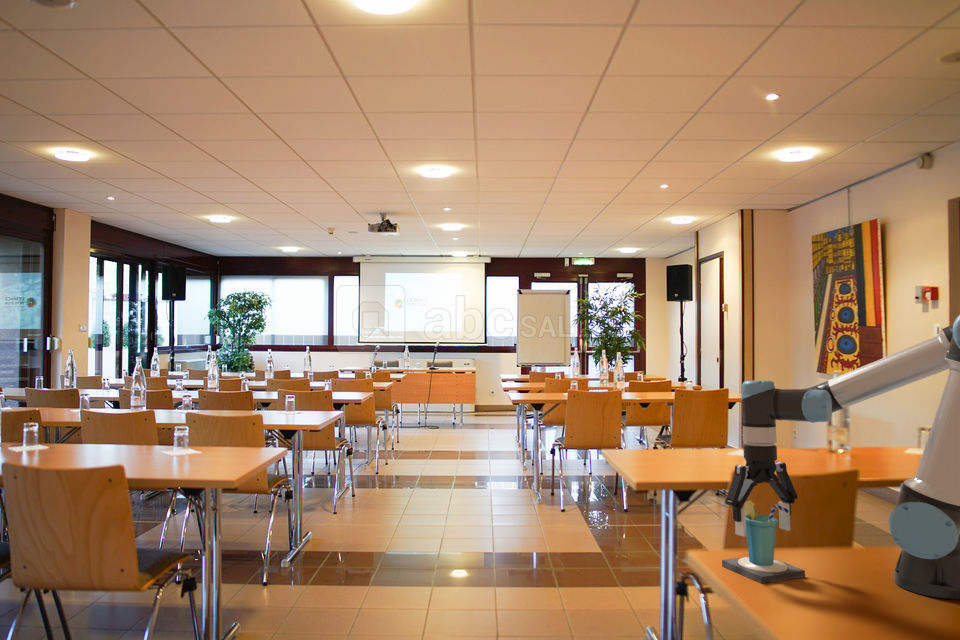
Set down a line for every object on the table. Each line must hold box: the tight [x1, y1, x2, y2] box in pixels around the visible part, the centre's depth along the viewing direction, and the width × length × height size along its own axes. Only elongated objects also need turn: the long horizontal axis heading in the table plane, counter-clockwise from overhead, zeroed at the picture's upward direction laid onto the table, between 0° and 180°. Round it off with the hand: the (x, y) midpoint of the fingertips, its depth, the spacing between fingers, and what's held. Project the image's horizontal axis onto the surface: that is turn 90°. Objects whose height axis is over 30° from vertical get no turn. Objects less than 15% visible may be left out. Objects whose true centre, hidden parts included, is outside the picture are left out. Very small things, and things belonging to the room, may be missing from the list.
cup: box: [743, 500, 789, 566], centre depth 158 cm, size 14×8×15 cm, turn 26°
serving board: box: [721, 556, 806, 584], centre depth 157 cm, size 13×13×2 cm
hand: (763, 532), depth 157 cm, fingers open, 13 cm apart
